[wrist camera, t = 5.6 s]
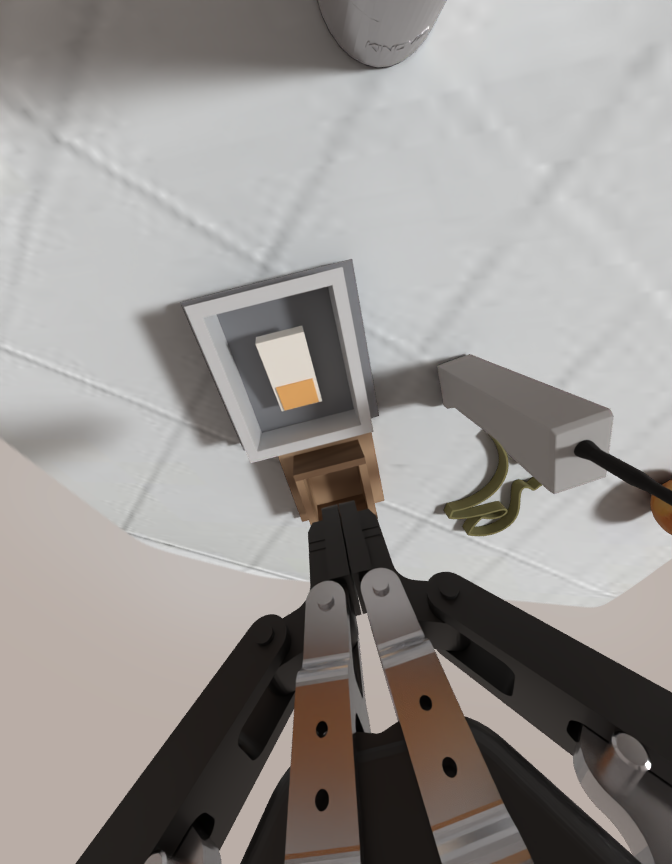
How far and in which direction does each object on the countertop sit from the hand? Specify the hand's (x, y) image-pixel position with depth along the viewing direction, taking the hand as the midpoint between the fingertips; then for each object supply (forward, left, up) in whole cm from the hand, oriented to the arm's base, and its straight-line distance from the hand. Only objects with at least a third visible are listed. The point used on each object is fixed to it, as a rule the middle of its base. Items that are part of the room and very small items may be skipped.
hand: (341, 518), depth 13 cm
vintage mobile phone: (+4, +15, -21) cm, 26 cm away
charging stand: (+12, -1, -21) cm, 24 cm away
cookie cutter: (+20, +21, -21) cm, 36 cm away
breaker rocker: (-3, -2, -17) cm, 17 cm away
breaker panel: (-3, -2, -21) cm, 21 cm away
